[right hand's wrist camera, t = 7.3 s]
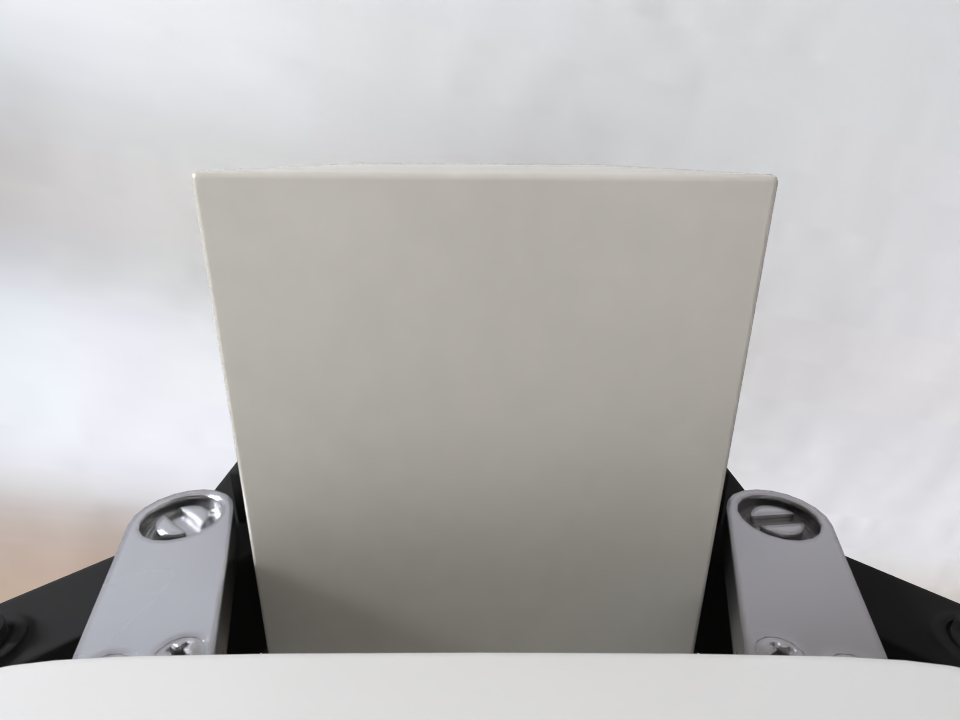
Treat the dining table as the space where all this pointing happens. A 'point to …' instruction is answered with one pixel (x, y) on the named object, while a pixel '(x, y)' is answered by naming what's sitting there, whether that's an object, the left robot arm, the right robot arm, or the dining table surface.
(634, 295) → the block
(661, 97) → the dining table surface
